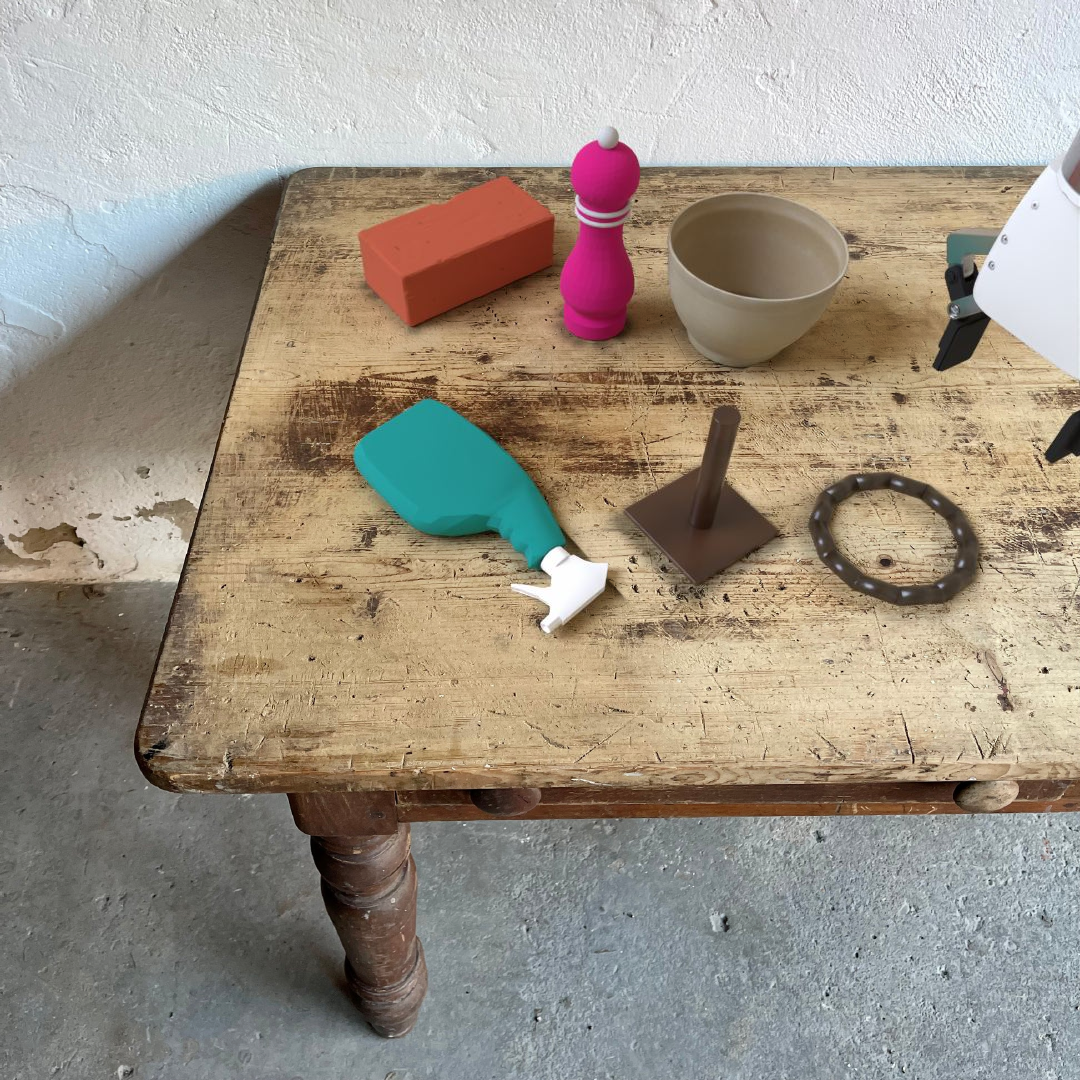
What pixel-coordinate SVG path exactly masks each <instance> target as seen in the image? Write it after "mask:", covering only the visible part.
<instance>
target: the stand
mask: <svg viewBox="0 0 1080 1080" xmlns="http://www.w3.org/2000/svg"><path fill="white" fill-rule="evenodd" d="M741 420H742V414H741V411H739V409H737V408H736V407H735V406H731V405H720V406H717V407H716V408H715V409H714V410H713V412H712V416H711V419H710V424H709V429H708V433H707V438H706V442H705V445H704V451H703V455H702V460H701V462H700V463H701V464H700V466H698V467H696V468H695V469H692V470H691V471H689V472H688V473H686V474H684V475H682V476H680V477H679V478H677V479H675V480H673V481H671V482H670V483H668V484H666V485H665V486H662V487H661V488H659V489H657V490H656V491H653V492H652V493H650V494H649V495H646V496H645V497H643V498H641V499H639V500H638V501H636V502H634V503H632V504H631V505H629V506H627V507H625V508H624V509H623V511H622V512H623V514H624V516H625V517H627V519H628V520H630V521H631V523H633V525H634V526H635V527H636V528H637V529H638V530H639V531H640V532H641V533H642V534H643V535H644V536H645V537H646V538H647V539H648V540H649V541H650V542H651V543H652V544H653V546H654V547H656V549H658V550H659V551H660V552H661V554H663V555H664V556H665V558H666V559H668V560H669V562H670V563H671V564H672V565H673V566H674V567H675V568H676V569H677V570H678V571H679V572H680V573H681V575H682V576H684V578H685V579H687V580H688V581H689V582H690V583H691V584H692V586H694V587H697V586H698V585H700V584H702V583H704V582H705V581H706V580H708V579H709V578H712V577H713V576H715V575H717V574H718V573H719V572H721V571H722V570H724V569H726V568H727V567H729V566H731V565H732V564H734V563H735V562H737V561H738V560H740V559H742V558H743V557H745V556H746V555H748V554H750V553H751V552H753V551H754V550H756V549H757V548H759V547H760V546H763V545H764V544H765V543H767V542H769V541H770V540H771V539H773V538H775V537H776V536H778V535H779V533H780V530H779V529H778V528H776V526H774V525H773V524H772V523H771V522H770V521H769V520H768V519H767V518H766V517H765V516H764V515H762V513H760V512H759V511H758V510H757V508H755V507H754V506H753V505H752V504H750V503H749V502H748V501H747V500H746V499H745V498H744V497H743V496H742V495H741V494H740V493H738V492H737V491H736V490H735V489H734V488H733V487H732V486H731V485H730V484H728V482H726V481H725V480H726V477H727V474H728V473H727V472H728V469H729V465H730V462H731V457H732V455H733V450H734V447H735V443H736V440H737V436H738V432H739V429H740V424H741Z"/></svg>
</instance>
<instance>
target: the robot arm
mask: <svg viewBox="0 0 1080 1080" xmlns="http://www.w3.org/2000/svg"><path fill="white" fill-rule="evenodd" d="M976 255H980V256H981V255H982V256H986V258H985V260H984V262H983V263H982V266H981V267H980V270H979V269H978V265H977V264H976V262H975V260H976ZM946 264H948V265H947V266H948V267H947V269H945V271H944V281H945V285H946V288H947V293H948V296H949V299H950V302H949V303H947V305H946V313H947V315H948V317H949V318H950V319H949V321H948V323H947V325H946V327H945V328H944V329H945V330H944V332H943V334H942V335H941V338H940V340H939V342H938V345H937V348H939V350H938V352H937V354H936V356H935V358H934V359H933V363H932V364H931V367H932V368H933V369H934V370H935V371H937V372H941V373H943V372H945V371H947V370H949V369H951V368H953V367H955V366H957V365H960V364H962V363H964V362H967V361H969V360H970V359H971V358H972V357H973V355H974V353H975V351H976V349H977V347H978V345H979V343H980V341H981V340H982V337H983V336H984V333H985V332H986V330H987V329H988V327H989V324H990V322H991V320H993V321H994V322H995V323H997V324H998V325H999V326H1000V327H1002V328H1003V329H1004V330H1005V331H1007V332H1008V333H1010V334H1011V335H1012V336H1014V337H1015V338H1016V339H1018V340H1019V341H1020V342H1022V343H1023V344H1024V345H1026V346H1027V347H1029V348H1030V349H1031V350H1033V351H1034V352H1035V353H1037V354H1038V355H1039V356H1041V357H1042V358H1044V359H1045V360H1046V361H1048V363H1050V364H1052V365H1053V366H1054V367H1056V368H1057V369H1059V370H1060V371H1062V372H1063V373H1064V374H1066V375H1067V376H1069V377H1070V378H1072V379H1074V380H1076V381H1077V382H1078V385H1079V386H1080V127H1079V128H1078V130H1077V133H1076V134H1075V135H1074V138H1073V140H1072V142H1071V144H1070V146H1069V148H1068V149H1067V150H1066V151H1064V152H1062V153H1060V154H1058V155H1057V156H1055V157H1053V159H1052V160H1051V161H1050V162H1049V163H1048V165H1047V166H1046V167H1045V169H1044V170H1043V171H1042V172H1041V174H1040V175H1039V176H1038V177H1037V179H1036V180H1035V181H1034V183H1033V184H1032V185H1031V186H1030V188H1029V189H1028V191H1027V192H1026V193H1025V195H1024V196H1023V197H1022V198H1021V200H1020V202H1019V203H1018V204H1017V206H1016V208H1015V209H1014V211H1013V212H1012V213H1011V215H1010V217H1009V219H1008V220H1007V222H1006V223H1005V224H1004V226H1003V227H1002V229H995V228H994V229H991V228H978V227H977V228H976V227H975V228H974V227H964V228H961V229H958V230H956V231H953V232H951V233H949V234H948V235H947V237H946ZM1043 455H1044V460H1046V461H1047V462H1049V464H1051V465H1053V464H1055V463H1056V462H1059V461H1060V460H1062V459H1064V458H1067V457H1068V456H1069V455H1073V456H1075V458H1078V457H1080V409H1078V410H1076V411H1074V412H1073V413H1071V414H1070V415H1069V417H1068V418H1067V419H1066V421H1065V423H1064V424H1063V425H1062V427H1061V428H1060V430H1059V431H1058V432H1057V434H1056V436H1055V437H1054V439H1053V440H1052V442H1051V443H1050V445H1049V446H1048V447H1047V449H1046V450H1045V452H1044V454H1043Z"/></svg>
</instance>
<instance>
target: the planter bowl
mask: <svg viewBox="0 0 1080 1080" xmlns="http://www.w3.org/2000/svg"><path fill="white" fill-rule="evenodd" d="M849 264H850V250H849V246H848V243H847V240H846V238H845V236H844V235H843V234H842V232H841V231H840V230H839V229H838V227H837V226H835V225H834V223H832V221H830V220H829V219H828V218H827V217H825V216H824V215H822V214H821V213H820V212H819V211H816V210H815V209H813V208H812V207H809V206H808V205H806V204H804V203H801V202H799V201H796V200H792V199H790V198H787V197H784V196H778V195H774V194H768V193H763V192H754V191H733V192H725V193H719V194H713V195H709V196H707V197H706V196H705V197H704V198H701V199H698V200H696V201H694V202H692V203H690V204H688V205H687V206H685V207H683V208H682V210H680V211H679V212H678V213H677V214H676V215H675V217H674V218H673V220H672V222H671V223H670V226H669V229H668V234H667V282H668V287H669V288H668V289H669V293H670V297H671V300H672V303H673V306H674V308H675V311H676V313H677V316H678V317H679V319H680V321H681V323H682V325H683V326H684V328H685V329H686V332H687V336H688V340H689V342H690V344H691V345H692V347H693V348H694V349H695V350H696V351H697V352H698V353H700V354H701V355H702V357H705V358H706V359H708V360H710V361H712V362H715V363H717V364H720V365H724V366H728V367H734V368H749V367H752V366H753V365H756V364H759V363H762V362H763V363H764V362H766V361H768V360H770V359H772V358H774V357H776V356H777V355H778V354H779V353H780V352H781V351H782V350H784V349H785V348H787V347H789V346H790V345H792V344H793V343H795V342H796V341H797V340H799V339H800V338H801V337H802V336H804V335H805V334H806V333H807V332H808V331H809V330H810V329H812V327H813V326H814V325H815V324H816V323H817V322H818V320H819V319H820V318H821V317H822V315H823V314H824V313H825V311H826V309H828V306H829V304H830V303H831V301H832V299H833V297H834V296H835V293H836V291H837V289H838V287H839V286H840V284H841V283H842V281H843V279H844V277H845V275H846V273H847V271H848V268H849Z"/></svg>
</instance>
